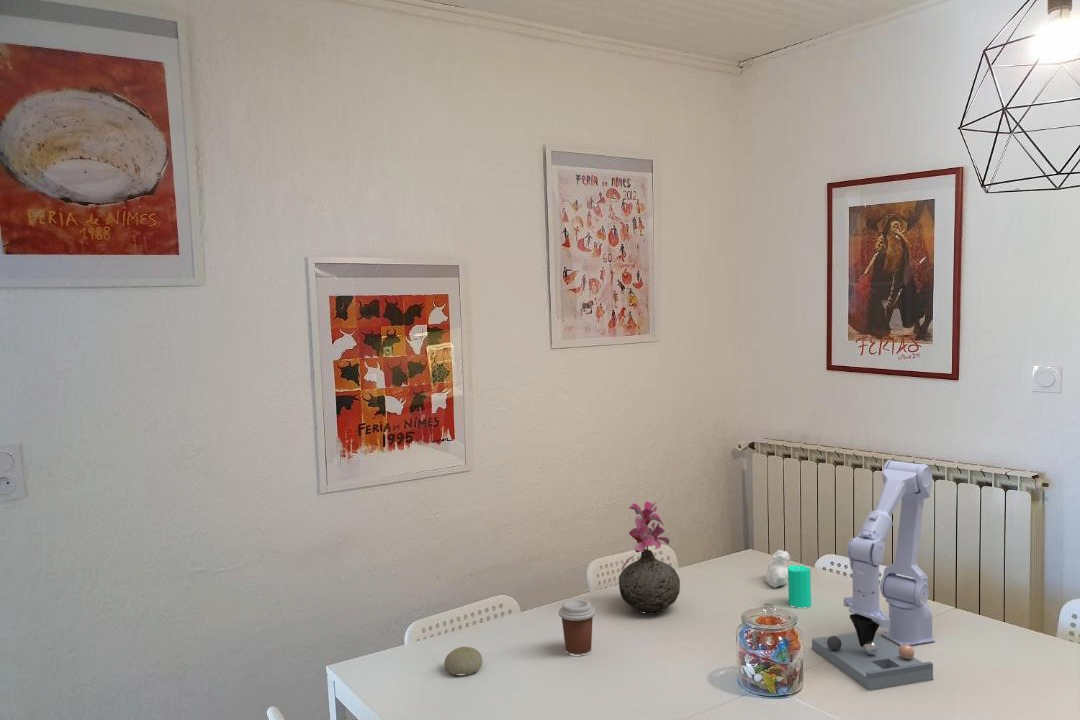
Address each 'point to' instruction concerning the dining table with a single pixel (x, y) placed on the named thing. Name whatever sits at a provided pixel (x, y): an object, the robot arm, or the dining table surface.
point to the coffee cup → (577, 625)
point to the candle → (799, 586)
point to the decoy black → (834, 643)
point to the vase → (648, 568)
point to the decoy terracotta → (906, 651)
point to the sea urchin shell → (463, 661)
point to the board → (873, 662)
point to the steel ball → (870, 648)
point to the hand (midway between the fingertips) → (866, 646)
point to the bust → (778, 569)
